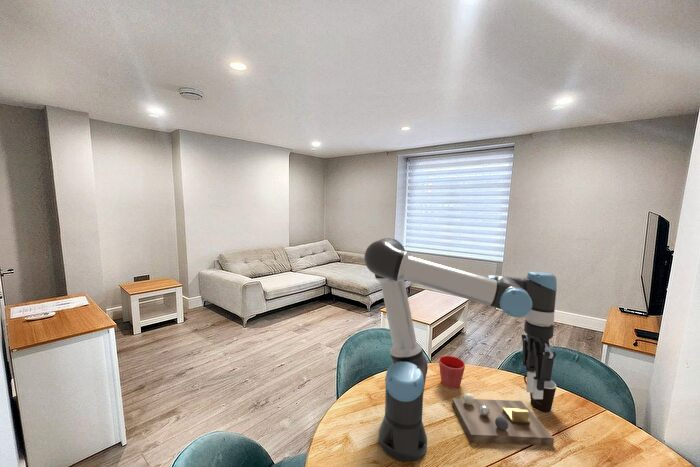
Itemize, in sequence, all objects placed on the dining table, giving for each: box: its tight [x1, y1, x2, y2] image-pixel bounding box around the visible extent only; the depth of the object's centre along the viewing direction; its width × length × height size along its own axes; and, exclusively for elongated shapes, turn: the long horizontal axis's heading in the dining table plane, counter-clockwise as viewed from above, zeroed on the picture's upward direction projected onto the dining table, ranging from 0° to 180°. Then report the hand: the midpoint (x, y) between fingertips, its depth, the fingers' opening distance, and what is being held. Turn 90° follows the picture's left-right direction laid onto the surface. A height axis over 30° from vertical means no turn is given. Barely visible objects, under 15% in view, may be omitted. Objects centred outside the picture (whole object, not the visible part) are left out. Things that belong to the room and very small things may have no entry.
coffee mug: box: [523, 374, 557, 414], centre depth 109 cm, size 12×9×10 cm
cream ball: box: [463, 392, 475, 405], centre depth 105 cm, size 4×4×4 cm
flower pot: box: [438, 355, 466, 389], centre depth 122 cm, size 11×11×10 cm
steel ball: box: [479, 405, 490, 417], centre depth 99 cm, size 3×3×3 cm
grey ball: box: [495, 417, 508, 430], centre depth 93 cm, size 4×4×4 cm
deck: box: [451, 397, 555, 446], centre depth 99 cm, size 26×18×2 cm
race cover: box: [503, 408, 530, 423], centre depth 99 cm, size 6×6×4 cm
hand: (534, 394), depth 89 cm, fingers open, 3 cm apart
